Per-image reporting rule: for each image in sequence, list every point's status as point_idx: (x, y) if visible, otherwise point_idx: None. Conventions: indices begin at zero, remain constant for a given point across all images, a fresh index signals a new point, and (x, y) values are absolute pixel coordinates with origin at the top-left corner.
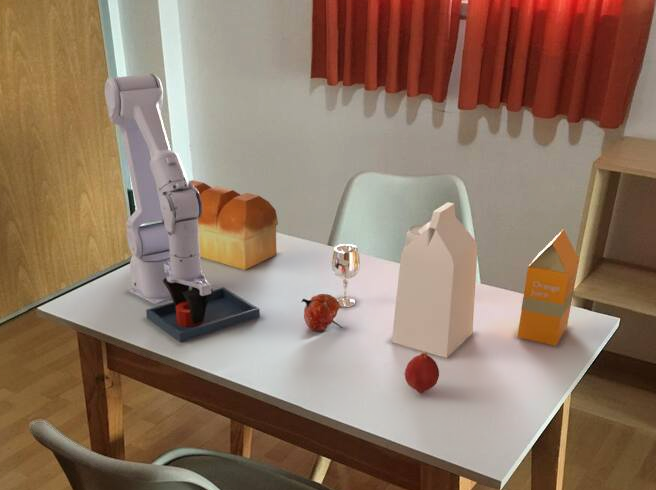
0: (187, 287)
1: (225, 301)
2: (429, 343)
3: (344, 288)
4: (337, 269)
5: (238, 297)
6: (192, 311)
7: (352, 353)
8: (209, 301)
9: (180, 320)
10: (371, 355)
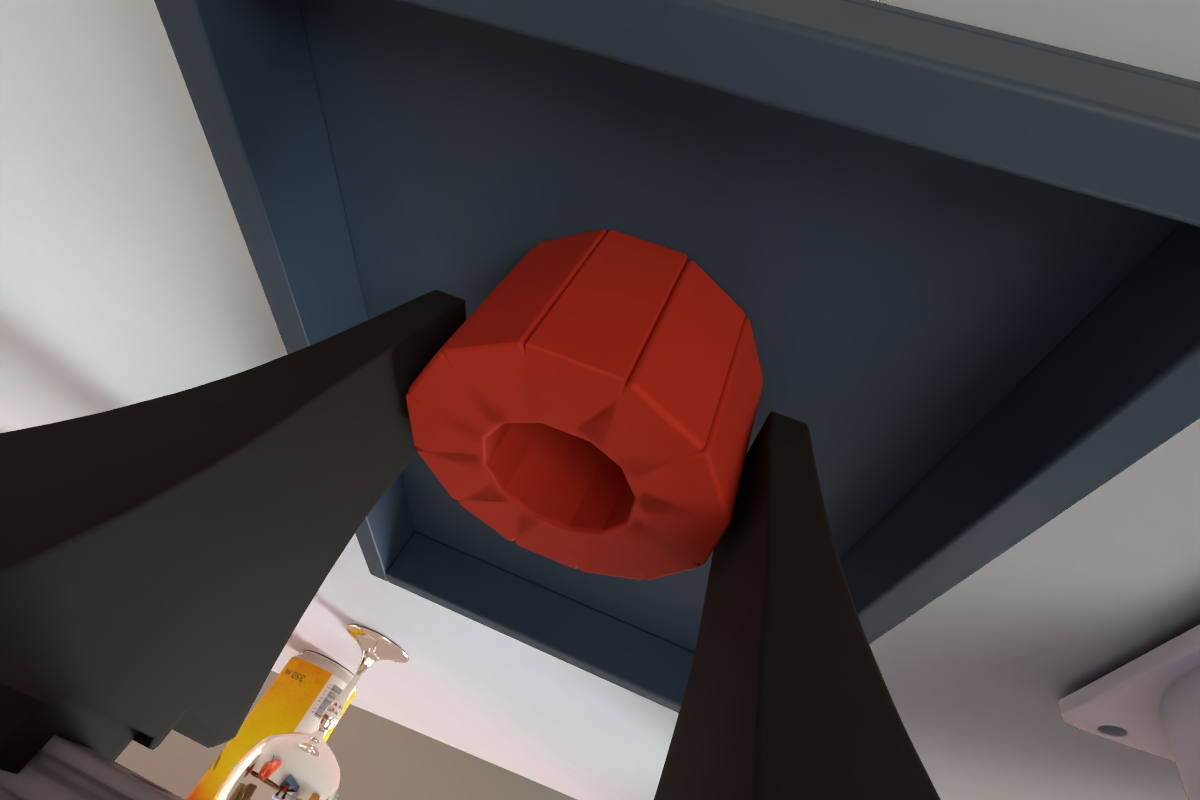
0: (668, 767)
1: (669, 629)
2: None
3: (342, 693)
4: (255, 777)
5: (553, 652)
6: (274, 361)
7: (28, 406)
8: None
9: (578, 265)
10: (15, 417)
